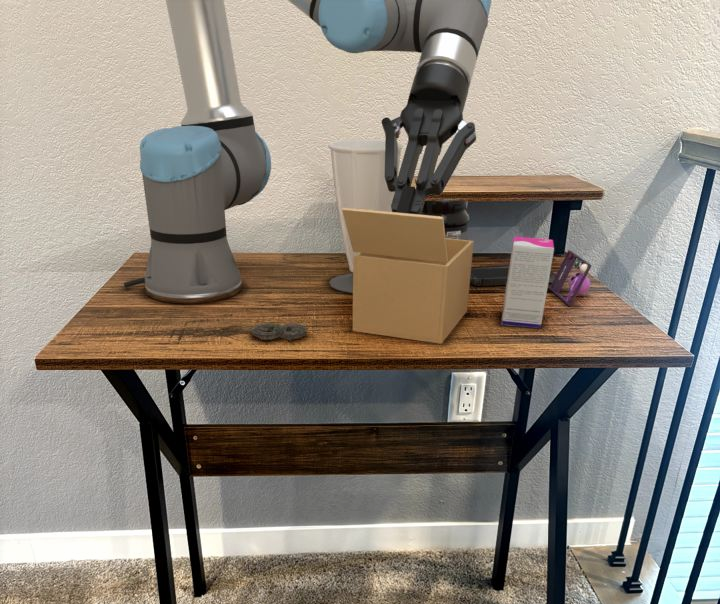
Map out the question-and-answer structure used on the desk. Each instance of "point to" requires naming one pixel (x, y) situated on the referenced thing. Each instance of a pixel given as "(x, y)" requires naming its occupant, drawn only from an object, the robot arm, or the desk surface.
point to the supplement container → (450, 216)
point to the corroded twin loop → (278, 331)
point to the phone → (493, 275)
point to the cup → (358, 188)
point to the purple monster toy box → (577, 282)
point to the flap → (396, 234)
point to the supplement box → (527, 282)
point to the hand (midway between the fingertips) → (398, 236)
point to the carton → (412, 293)
